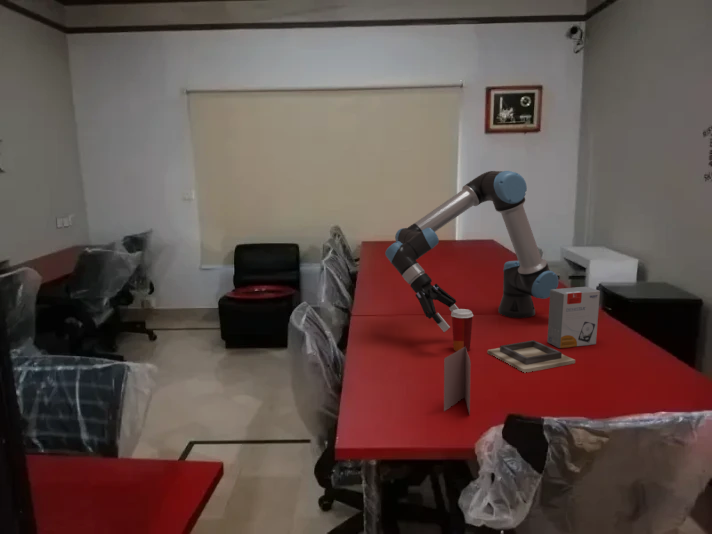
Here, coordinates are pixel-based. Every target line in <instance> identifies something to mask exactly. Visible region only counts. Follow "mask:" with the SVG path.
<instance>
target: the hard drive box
mask: <svg viewBox="0 0 712 534" xmlns="http://www.w3.org/2000/svg"><path fill="white" fill-rule="evenodd" d="M600 296H601V291H600V290H598V289H596V288H592V287H589V286H577V287H575V286H574V287H565V288H556V289H551V290H550V297H549V306H548V326H547V338H546V339H547V340H546V341H547V343H548V344H550V345H552V346H554V347H556V348H558V349H564V348H566V349H568V348H572V347H573V348H574V347H583V346H591V345H597V337H598V336H597V333H598V324H599V323H598V321H599V320H598V319H599V310H600V308H599V307H600V298H601V297H600Z"/></svg>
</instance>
